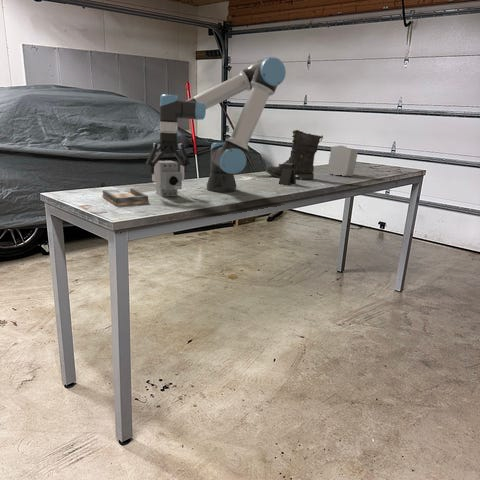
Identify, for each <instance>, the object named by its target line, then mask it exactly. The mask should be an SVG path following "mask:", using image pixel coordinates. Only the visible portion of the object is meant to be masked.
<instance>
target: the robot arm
mask: <svg viewBox="0 0 480 480" xmlns="http://www.w3.org/2000/svg"><path fill="white" fill-rule="evenodd" d="M286 73H287V72H286V67H285V64H284V63H283V62H282V60H280V59H279V58H277V57H274V56H273V57H272V56H269V57H266V58H264V59H263V58H262V59H259V60H257V61H255V62H253V63H252V64H251V65H249V66H248V67H246V68H244V69H242V70H240V71H239V73H238V74H237V75H235V76H234V77H232V78H231V77H230V79H229V78H228V79H227V80H225V81H223V82H221V83H219V84H217V85H215V86H213V87H211V88H209V89H206V90H205V91H202V92H200V93H198V94H197V95H195V96H193V97H191V98H188V99H186V100H181V99H180V100H179V97H178V95H176V94H161V95H160V99H159V131H160V133H159V143H155V142H153V143H152V149H151V151H150V153H149V155H148V157H147V159H146V161H145V165H147V166H149V173H150V174H151V181H152V182H153V183H154V182H155V183H156V167H155V164H156V163H157V162H158V161H160V160H161V158H162V157H163V156H164V155H169V154H170V155H174V156H175V158H176V159H177V160H178V162H179V163H180V164H181V165H180V167H179V172H182V181H183V182H184V181H185V174H186V172H187V167H188V165H190V164H191V162H190V159H189V157H188V154H187V152H186V150H185V145H184V143H178V127H179V126H178V123H179V122H178V121H179V120H178V119H180V120H181V119H183V120H196V121H197V120H199V121H200V120H204V119H205V117H206V115H207V114H206V111H207V110H208V109H210V108H212V107H214V106H216V105H218V104H220V103H222V102H224V101H226V100H229V99H230V98H233V97H234V96H236V95H238V94H240V93H242V92H245V91H247V92H249V94H248V95H247V98H246V101H245V103H244V105H243V108H242V110H241V112H240V114H239V116H238V119H237V121H236V123H235V125H234V128H233V130H232V133H231V135H230V137H228V138H225V141H224V142H213V143H212V144H211V145H210V146H211V147H210V172H209V173H210V174H209V177H208V180H207V182H206V190H207V191H210V192H218V193H231V192H232V193H233V192H236V191H237V187H238V186H237V182H236V178H235V175H237V174H239V173H240V172H241V171H243V170H244V169H245V167H246V165H247V156H248V155H247V154H248V152H249V151H250V150H249V147H248V144H249V142H250V140H251V138H252V135H253V133H254V131H255V129H256V126H257V124H258V123H259V120H260V118H261V115H262V113H263V111H264V108H265V107H266V104H267V102H268V100H269V97H271V96H272V95H274V94H275V93H276V90H277V88H278V86H279V85H281V84H282V83H283V82H284V81H285V78H286ZM158 149H159V151H158ZM177 149H179V151H180V154H181V155H180V154H179V152H178V150H177ZM157 151H158V153H157ZM156 153H157V154H156Z"/></svg>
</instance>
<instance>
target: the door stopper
mask: <svg viewBox="0 0 480 480" xmlns="http://www.w3.org/2000/svg"><path fill="white" fill-rule="evenodd" d="M282 164H283V169H282V173H281V176H280V177H279V180H278V184H279V185H281V184H283V185H282V186H287V185H288V186H292V185H291V184H294V185H296V184H297V181H296V175H295V170H294V167H295V164H294V163H287V162H286V161H285V162H283V163H282Z"/></svg>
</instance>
